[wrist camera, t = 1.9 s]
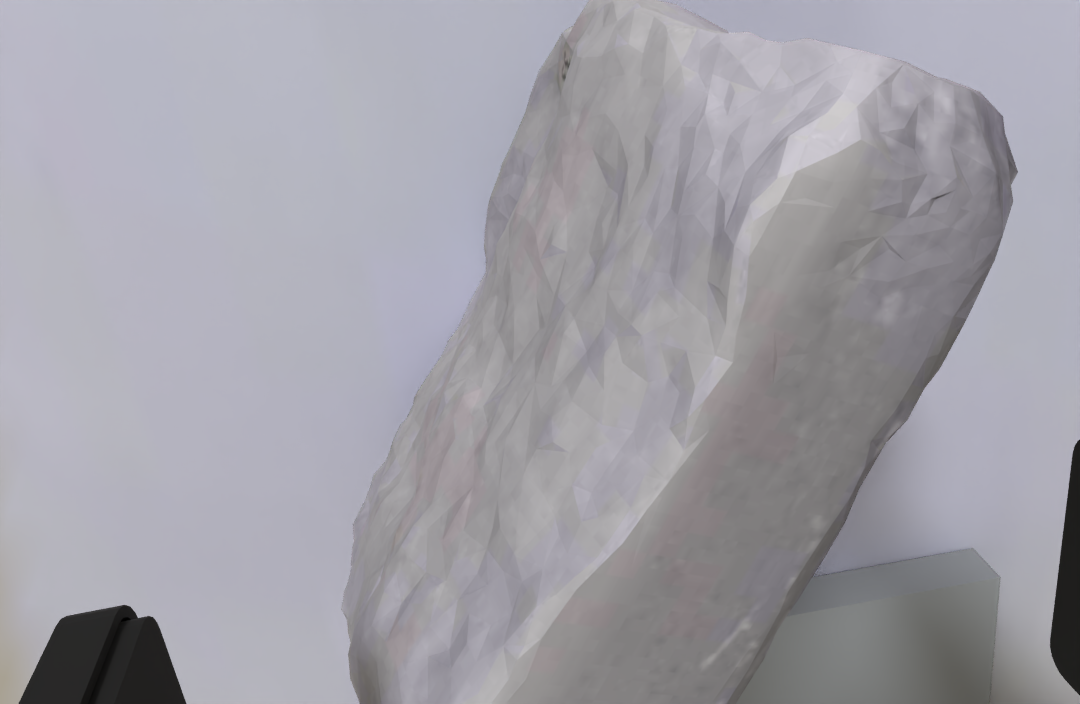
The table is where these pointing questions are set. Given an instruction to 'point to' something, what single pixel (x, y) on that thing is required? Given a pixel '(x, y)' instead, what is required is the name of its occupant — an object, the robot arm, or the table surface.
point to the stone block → (671, 363)
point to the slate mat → (887, 636)
